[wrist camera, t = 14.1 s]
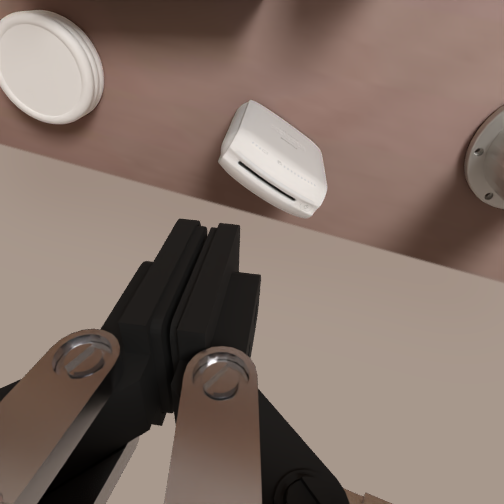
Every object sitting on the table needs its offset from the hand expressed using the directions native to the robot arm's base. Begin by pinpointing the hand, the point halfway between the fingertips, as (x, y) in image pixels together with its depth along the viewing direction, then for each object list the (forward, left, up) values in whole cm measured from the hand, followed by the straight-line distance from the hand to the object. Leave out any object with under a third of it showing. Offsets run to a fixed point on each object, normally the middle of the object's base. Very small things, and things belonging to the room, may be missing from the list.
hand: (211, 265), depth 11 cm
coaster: (+22, +1, -32) cm, 39 cm away
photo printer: (-1, +7, -32) cm, 33 cm away
